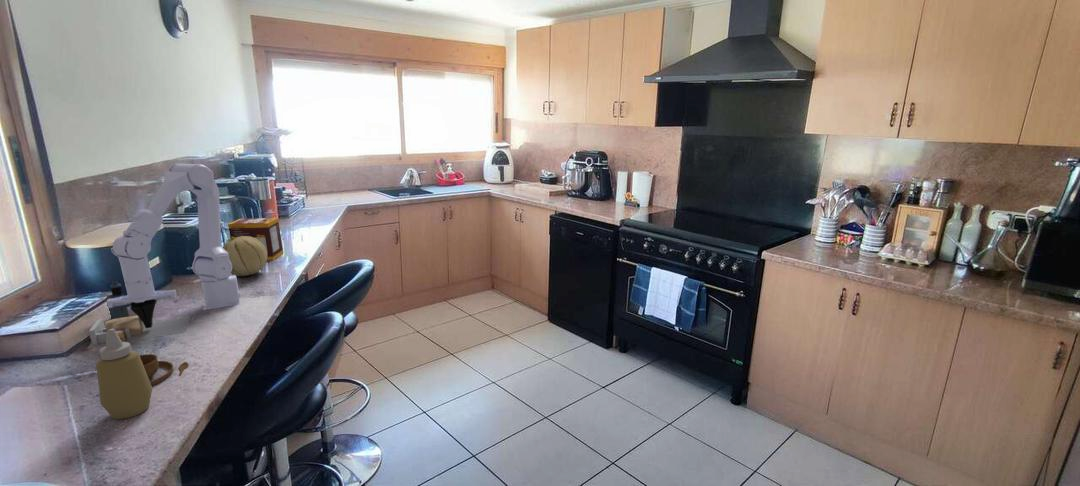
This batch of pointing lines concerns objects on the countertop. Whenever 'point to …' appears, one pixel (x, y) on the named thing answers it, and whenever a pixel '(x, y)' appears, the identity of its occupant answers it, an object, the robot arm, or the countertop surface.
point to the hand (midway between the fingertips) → (149, 326)
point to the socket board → (156, 330)
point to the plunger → (121, 333)
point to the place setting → (153, 364)
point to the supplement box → (260, 233)
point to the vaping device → (117, 310)
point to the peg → (126, 324)
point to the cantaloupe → (246, 255)
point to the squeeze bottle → (122, 379)
